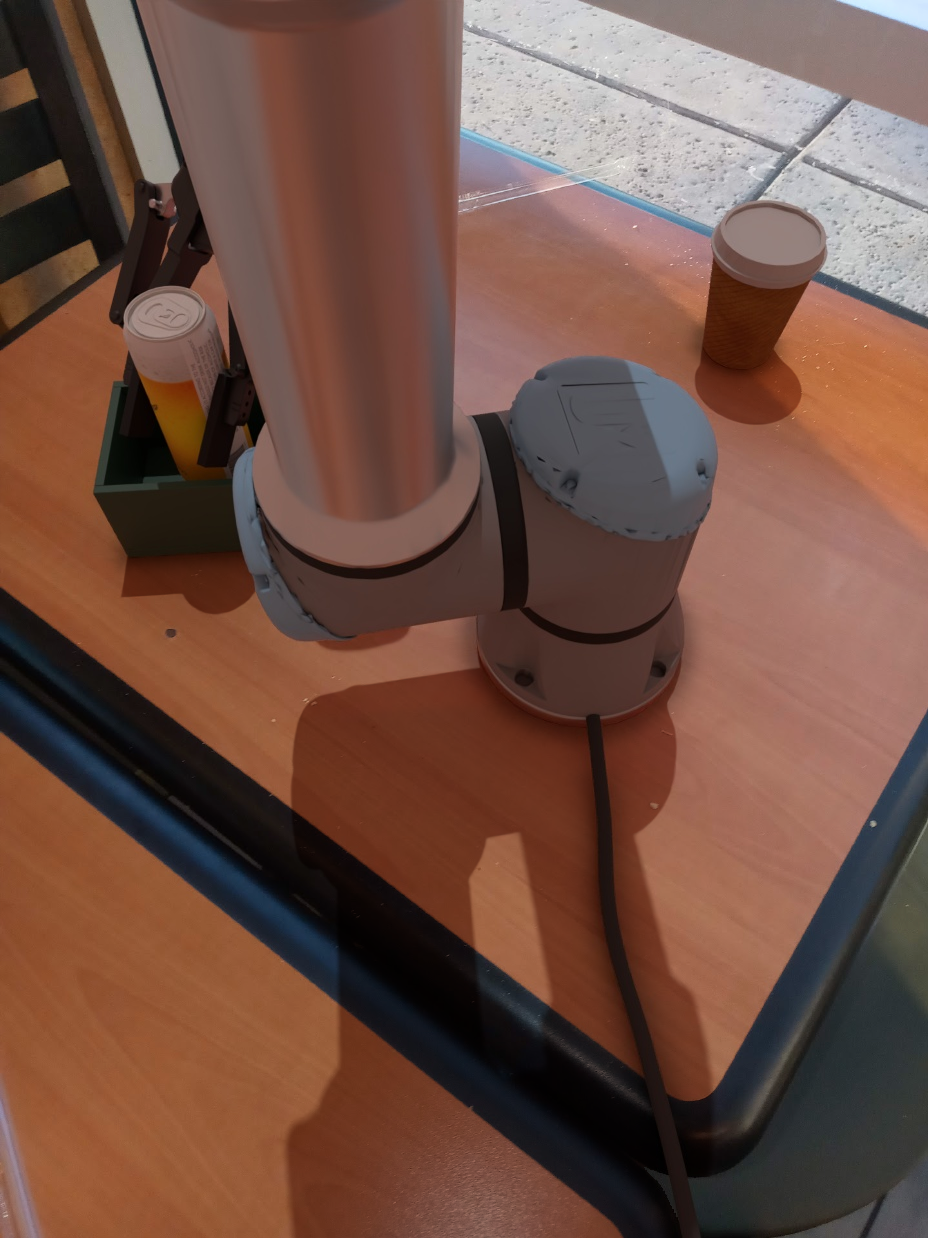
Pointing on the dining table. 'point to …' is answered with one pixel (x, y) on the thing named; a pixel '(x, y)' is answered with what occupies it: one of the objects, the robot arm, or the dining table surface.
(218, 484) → the open rectangular storage bin
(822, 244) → the disposable coffee cup
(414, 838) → the dining table surface
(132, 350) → the beer can
